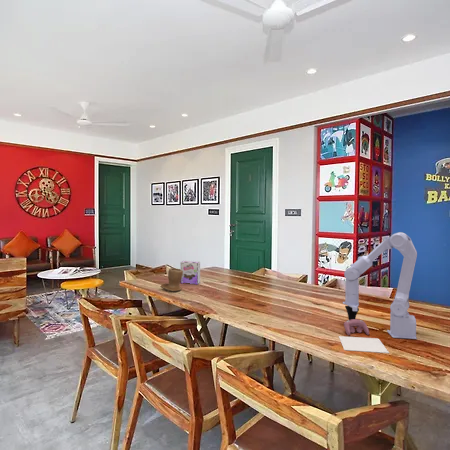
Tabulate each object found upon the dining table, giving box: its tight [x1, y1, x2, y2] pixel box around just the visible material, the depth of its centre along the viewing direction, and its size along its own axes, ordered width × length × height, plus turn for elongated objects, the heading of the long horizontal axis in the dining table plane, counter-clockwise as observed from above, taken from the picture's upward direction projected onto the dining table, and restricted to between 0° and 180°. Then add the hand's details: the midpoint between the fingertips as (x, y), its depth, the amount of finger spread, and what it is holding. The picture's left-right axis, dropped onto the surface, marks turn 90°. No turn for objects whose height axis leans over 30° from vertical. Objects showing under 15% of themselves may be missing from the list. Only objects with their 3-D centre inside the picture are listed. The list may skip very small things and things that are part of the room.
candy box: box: [180, 260, 201, 285], centre depth 246 cm, size 14×6×16 cm, turn 73°
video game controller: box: [343, 318, 370, 336], centre depth 144 cm, size 10×5×7 cm, turn 92°
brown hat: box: [160, 267, 183, 292], centre depth 225 cm, size 15×12×15 cm
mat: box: [338, 335, 390, 354], centre depth 132 cm, size 16×14×1 cm
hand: (351, 322), depth 153 cm, fingers closed
